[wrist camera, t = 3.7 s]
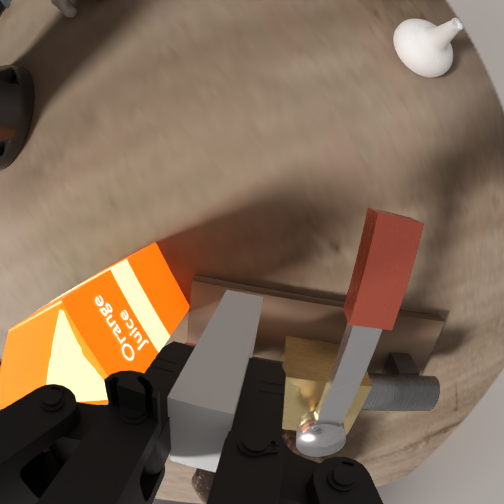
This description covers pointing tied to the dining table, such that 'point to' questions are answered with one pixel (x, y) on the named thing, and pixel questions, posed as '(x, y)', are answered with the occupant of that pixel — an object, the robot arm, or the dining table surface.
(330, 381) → the valve lever
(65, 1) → the elephant statuette
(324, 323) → the mounting board
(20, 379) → the orange juice
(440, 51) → the garlic bulb
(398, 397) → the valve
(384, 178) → the dining table surface
